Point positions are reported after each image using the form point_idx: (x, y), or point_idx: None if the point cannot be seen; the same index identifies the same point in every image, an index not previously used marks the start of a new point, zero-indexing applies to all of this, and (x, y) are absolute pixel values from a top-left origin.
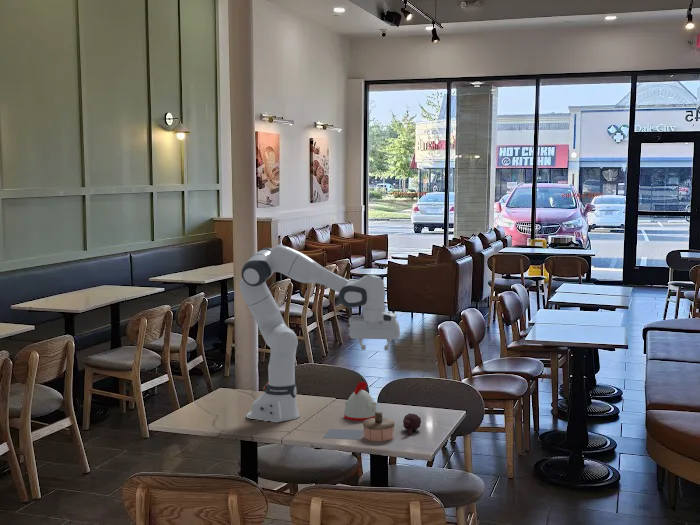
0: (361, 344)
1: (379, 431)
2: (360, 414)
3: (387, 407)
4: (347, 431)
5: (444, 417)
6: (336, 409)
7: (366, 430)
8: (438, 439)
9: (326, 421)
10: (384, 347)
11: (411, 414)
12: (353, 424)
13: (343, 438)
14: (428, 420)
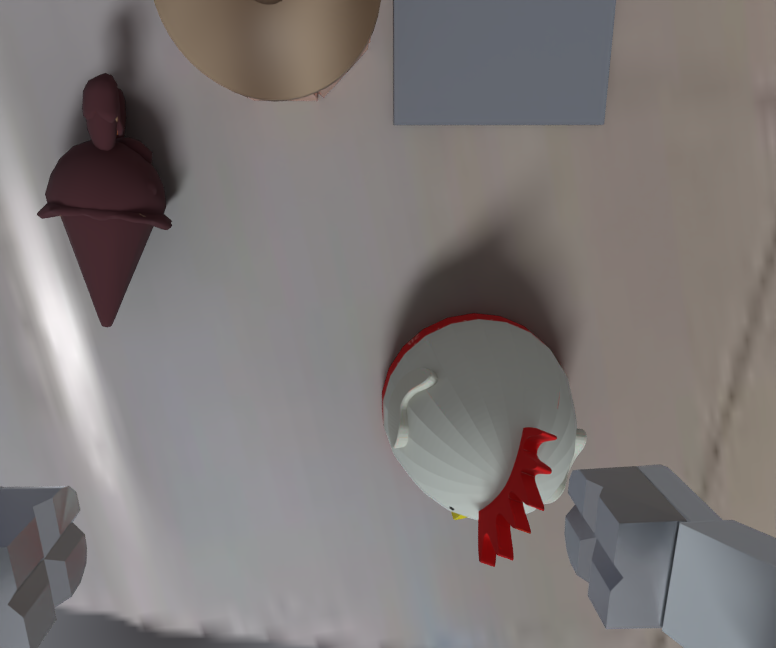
0: (733, 541)
1: None
2: (465, 330)
3: (367, 587)
4: (493, 82)
5: (20, 471)
6: None
7: None
8: None
9: (646, 294)
10: (27, 520)
11: (85, 208)
12: (487, 262)
13: None
14: (90, 404)
